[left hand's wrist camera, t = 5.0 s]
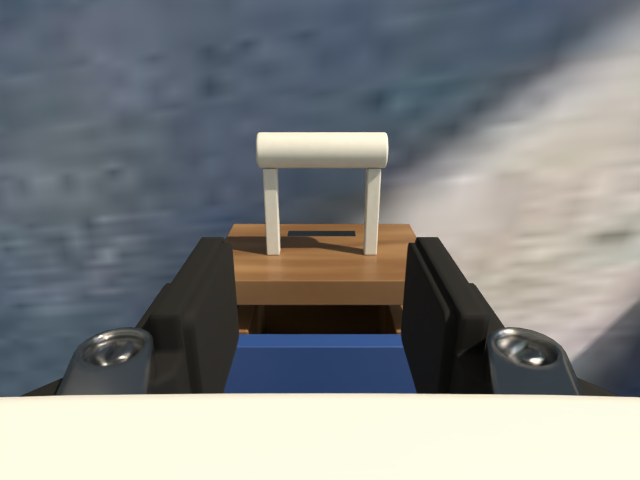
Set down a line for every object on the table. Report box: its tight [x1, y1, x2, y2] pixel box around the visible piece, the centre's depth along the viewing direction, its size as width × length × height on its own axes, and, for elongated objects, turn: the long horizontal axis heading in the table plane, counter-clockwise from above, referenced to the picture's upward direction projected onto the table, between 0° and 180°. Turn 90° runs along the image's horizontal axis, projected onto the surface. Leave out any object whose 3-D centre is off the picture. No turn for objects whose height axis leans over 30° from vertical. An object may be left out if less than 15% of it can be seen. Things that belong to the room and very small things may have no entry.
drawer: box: [225, 132, 417, 334], centre depth 24 cm, size 21×10×7 cm, turn 0°
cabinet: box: [223, 305, 417, 394], centre depth 26 cm, size 17×11×9 cm
